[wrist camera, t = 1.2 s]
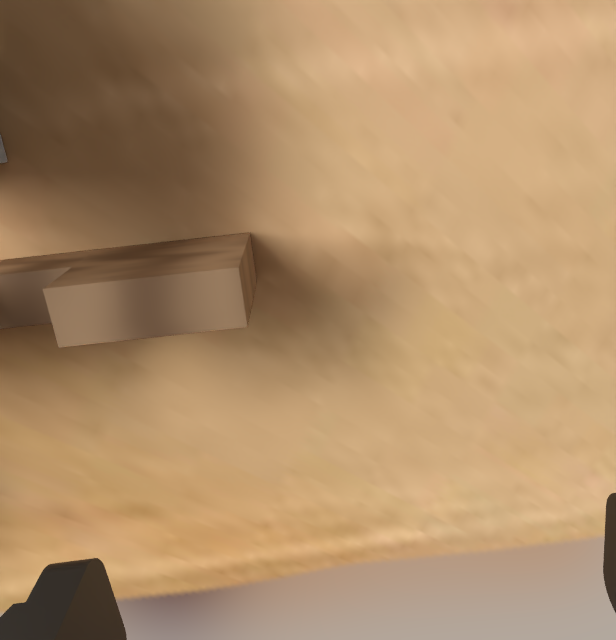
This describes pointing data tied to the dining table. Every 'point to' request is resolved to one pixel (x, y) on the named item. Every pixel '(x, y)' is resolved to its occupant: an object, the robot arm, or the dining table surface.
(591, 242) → the dining table surface
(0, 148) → the tall grey upright block
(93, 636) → the robot arm
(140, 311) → the walnut slotted plate
